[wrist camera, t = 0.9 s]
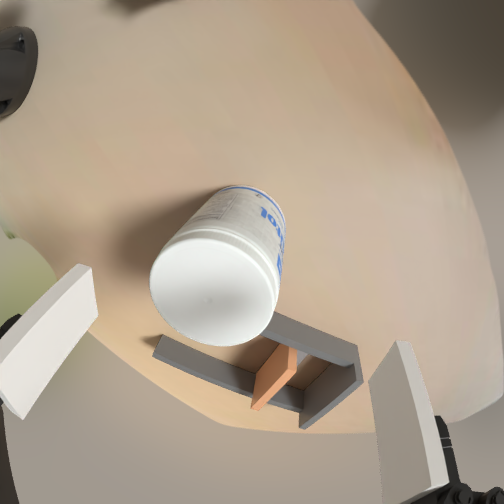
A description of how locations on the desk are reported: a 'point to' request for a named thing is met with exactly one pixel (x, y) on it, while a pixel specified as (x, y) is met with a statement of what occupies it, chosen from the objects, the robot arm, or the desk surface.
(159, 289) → the supplement tub
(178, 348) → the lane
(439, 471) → the robot arm
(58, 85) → the desk surface
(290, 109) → the desk surface
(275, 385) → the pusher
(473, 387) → the desk surface
